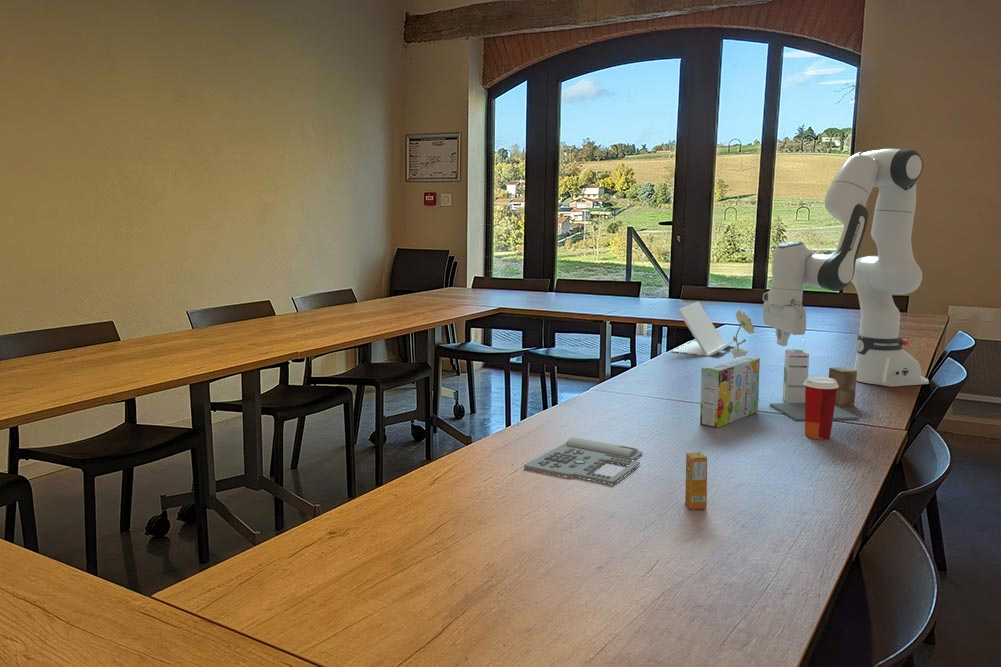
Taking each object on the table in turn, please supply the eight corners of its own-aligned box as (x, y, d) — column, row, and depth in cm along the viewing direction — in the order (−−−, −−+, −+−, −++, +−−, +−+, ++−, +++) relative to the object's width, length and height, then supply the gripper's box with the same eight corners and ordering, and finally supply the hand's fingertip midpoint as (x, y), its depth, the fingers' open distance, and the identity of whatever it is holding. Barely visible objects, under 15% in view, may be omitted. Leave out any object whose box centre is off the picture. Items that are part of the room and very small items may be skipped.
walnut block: (841, 401, 214) (844, 366, 212) (854, 405, 209) (857, 370, 207) (826, 402, 213) (829, 367, 211) (838, 407, 208) (841, 371, 206)
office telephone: (573, 432, 178) (654, 446, 168) (573, 443, 178) (654, 457, 168) (523, 458, 159) (611, 476, 148) (523, 470, 159) (611, 489, 149)
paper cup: (833, 433, 184) (837, 377, 181) (836, 442, 177) (840, 384, 174) (798, 430, 186) (802, 375, 184) (800, 439, 179) (804, 381, 177)
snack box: (739, 408, 206) (742, 354, 203) (758, 413, 202) (762, 357, 200) (697, 424, 191) (700, 366, 189) (717, 429, 187) (721, 369, 185)
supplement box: (682, 503, 141) (685, 451, 139) (700, 502, 141) (703, 451, 139) (688, 510, 137) (691, 457, 136) (707, 509, 138) (709, 457, 136)
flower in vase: (759, 403, 212) (765, 314, 208) (717, 400, 214) (722, 313, 210) (754, 391, 224) (759, 308, 220) (714, 389, 227) (718, 307, 223)
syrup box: (807, 404, 210) (810, 353, 208) (784, 403, 212) (788, 352, 209) (803, 399, 216) (806, 349, 213) (781, 398, 217) (784, 348, 215)
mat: (828, 404, 210) (828, 402, 210) (858, 419, 196) (858, 417, 196) (769, 405, 209) (769, 403, 209) (795, 421, 194) (795, 418, 194)
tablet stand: (670, 352, 284) (672, 308, 281) (689, 342, 305) (691, 300, 303) (718, 357, 275) (721, 311, 272) (735, 347, 296) (737, 304, 294)
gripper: (814, 302, 208) (809, 352, 210) (780, 294, 228) (776, 339, 230) (792, 302, 207) (788, 351, 209) (760, 293, 227) (756, 339, 230)
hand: (781, 345), depth 220 cm, fingers closed
